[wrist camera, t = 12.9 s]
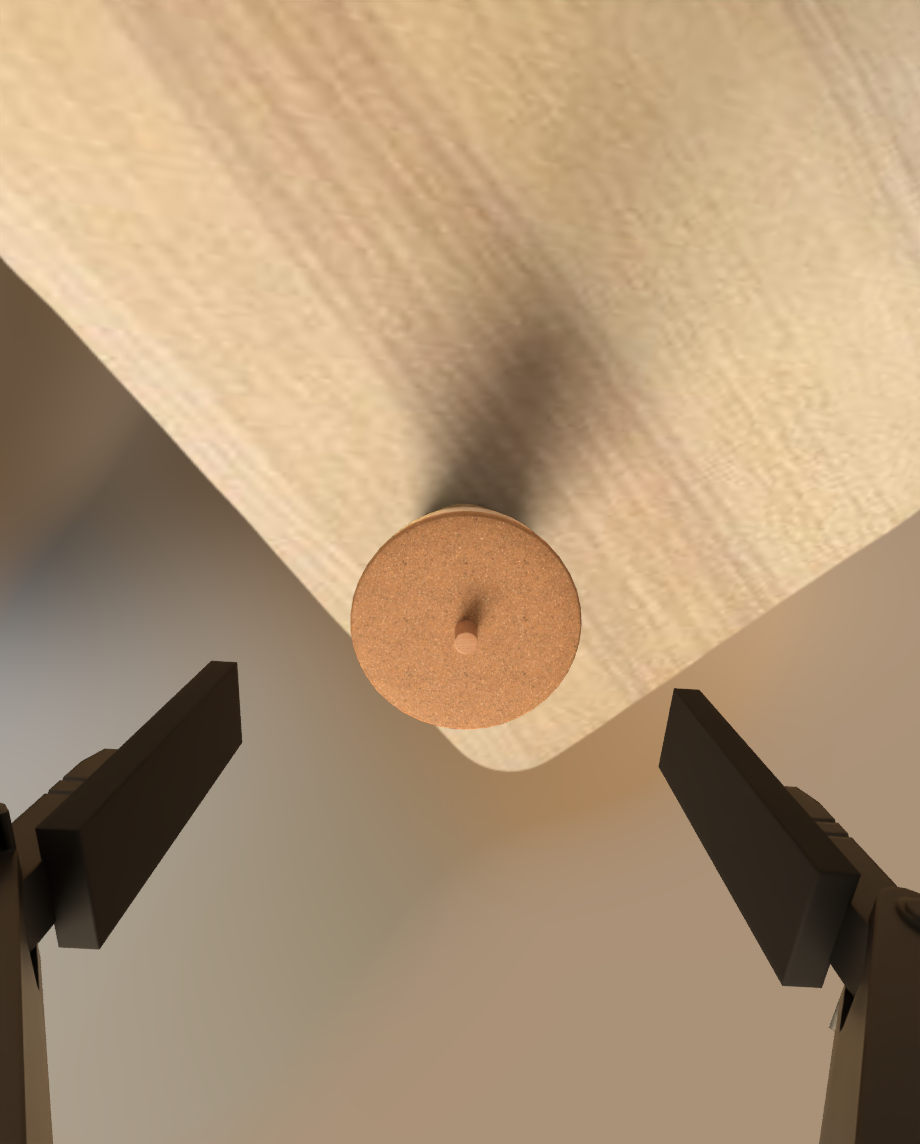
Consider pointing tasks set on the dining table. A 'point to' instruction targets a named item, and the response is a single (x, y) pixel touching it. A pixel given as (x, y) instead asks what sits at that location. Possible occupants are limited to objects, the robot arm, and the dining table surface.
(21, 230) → the dining table surface
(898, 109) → the dining table surface
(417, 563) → the trinket box
